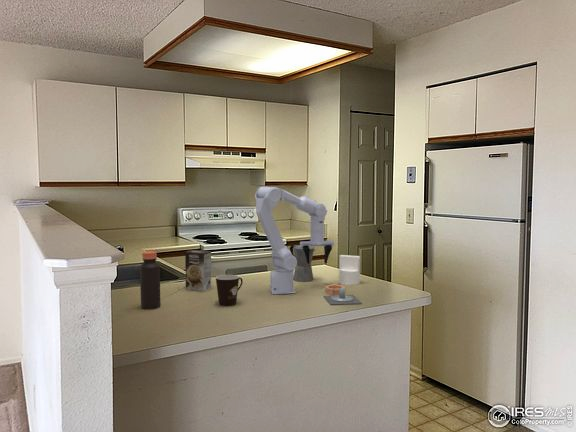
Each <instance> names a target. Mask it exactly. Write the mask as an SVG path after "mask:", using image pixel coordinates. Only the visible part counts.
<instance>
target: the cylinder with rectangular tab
mask: <svg viewBox="0 0 576 432" xmlns="http://www.w3.org/2000/svg"><path fill="white" fill-rule="evenodd" d="M338 264H339V269H338V271H339V273H338V274H339V275H338V276H339V277H338V278H339V281H338V282H339V284H341V285H344V284H345V285H344V286H357V285H359V284H360V283H361V281H360V280H361V278H360V276H361V275H360V273H361V256H360V255H350V254H349V255H348V254H340V255H339V263H338ZM356 284H357V285H356Z"/></svg>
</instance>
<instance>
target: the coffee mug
mask: <svg viewBox="0 0 576 432" xmlns="http://www.w3.org/2000/svg"><path fill="white" fill-rule="evenodd" d="M215 281H216V282H215V283H216V290H217V298H218V299H217V300H218V305H219V306H223V307H232V306H235V305H237V300H238V293H239V292H238V291H239V290H240V289H241V287H242V285H243V278H242V277H240V276H239V275H236V274H222V275H217V276H215ZM239 281H240V282H239ZM239 283H240V285H239Z"/></svg>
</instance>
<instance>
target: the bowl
mask: <svg viewBox="0 0 576 432" xmlns="http://www.w3.org/2000/svg"><path fill="white" fill-rule="evenodd" d="M339 288H345V289H346V287H345V285H343V284H341V285H340V284H327V285H325V286H324V293H325V295H327V296H331V295H339Z"/></svg>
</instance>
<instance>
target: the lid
mask: <svg viewBox="0 0 576 432" xmlns="http://www.w3.org/2000/svg"><path fill="white" fill-rule="evenodd" d="M348 295H349V294H346V287H345V288H339V295H334V296H332V297H331V300H333V301H336V302H350V301H353V297H351V296H348Z"/></svg>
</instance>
